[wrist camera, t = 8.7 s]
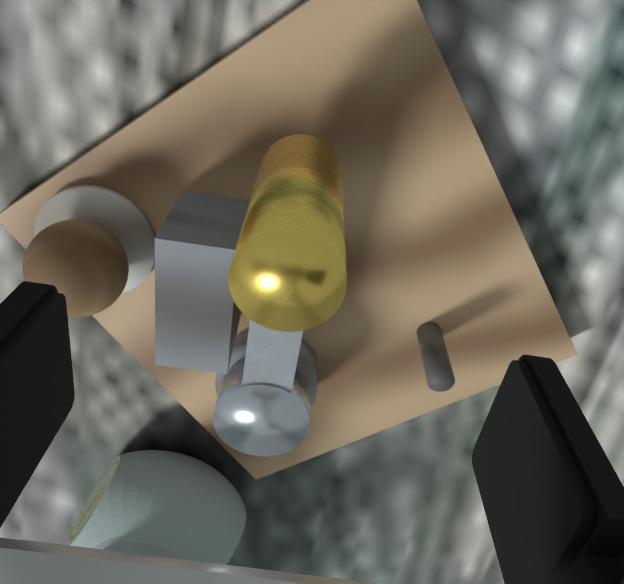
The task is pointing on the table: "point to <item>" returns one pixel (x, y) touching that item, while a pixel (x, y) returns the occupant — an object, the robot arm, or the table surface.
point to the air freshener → (162, 509)
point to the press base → (357, 224)
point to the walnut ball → (78, 265)
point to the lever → (283, 293)
